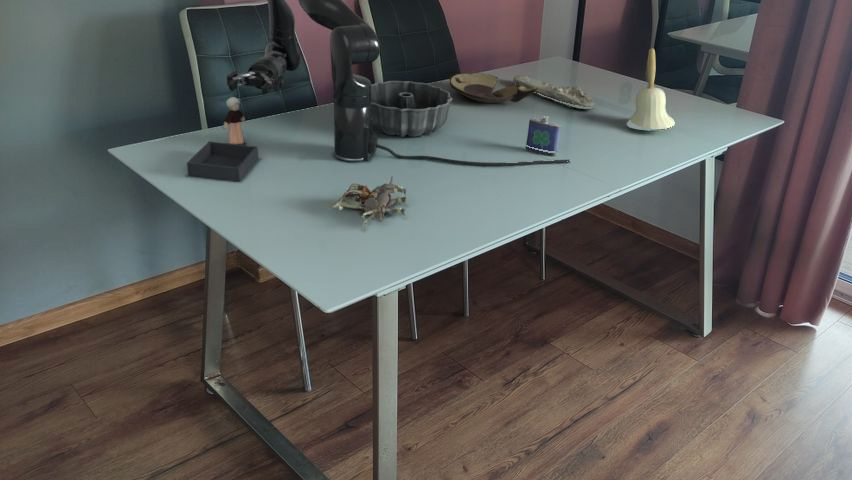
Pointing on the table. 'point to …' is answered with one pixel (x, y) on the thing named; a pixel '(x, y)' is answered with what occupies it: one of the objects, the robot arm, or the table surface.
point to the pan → (223, 161)
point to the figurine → (372, 200)
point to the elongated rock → (556, 91)
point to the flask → (543, 136)
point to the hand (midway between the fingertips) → (247, 89)
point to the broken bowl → (487, 88)
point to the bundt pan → (408, 108)
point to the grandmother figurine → (234, 122)
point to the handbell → (651, 102)
